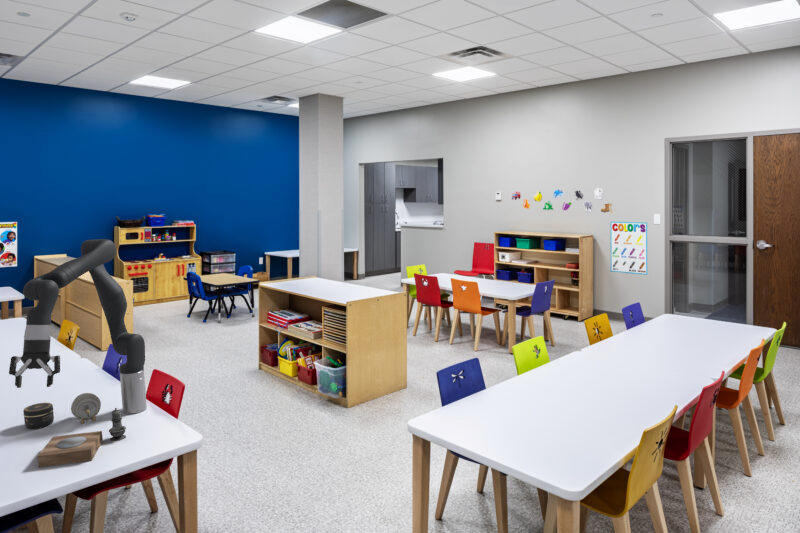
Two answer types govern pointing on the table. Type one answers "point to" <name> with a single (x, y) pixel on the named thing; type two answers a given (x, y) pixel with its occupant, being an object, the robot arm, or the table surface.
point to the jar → (38, 415)
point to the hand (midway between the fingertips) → (33, 387)
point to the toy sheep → (86, 407)
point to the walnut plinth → (70, 449)
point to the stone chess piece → (117, 426)
